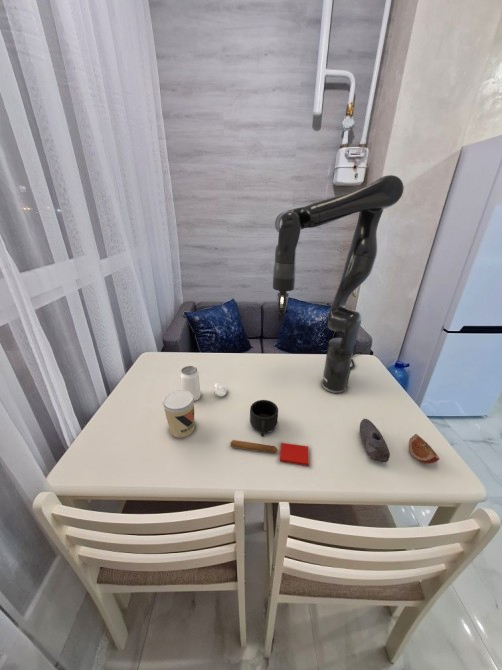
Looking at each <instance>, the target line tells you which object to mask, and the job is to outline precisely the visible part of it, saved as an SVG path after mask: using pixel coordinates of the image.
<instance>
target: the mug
mask: <svg viewBox="0 0 502 670" xmlns="http://www.w3.org/2000/svg"><path fill="white" fill-rule="evenodd" d="M278 420H279V407H278V406H277V404H276V403H275V402H274V401H271V400H268V399H259V400H256V401H254V402H253V403H251V405H250V408H249V423H250V425H251V427H252V429H253V430H255V432H257V433H261V434H260V435H261V437H265V434H266V433H267V434H268V433H271V432H273V431H274V430H275V428H276V427H277V426H278Z"/></svg>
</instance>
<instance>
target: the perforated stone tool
mask: <svg viewBox="0 0 502 670" xmlns="http://www.w3.org/2000/svg"><path fill="white" fill-rule="evenodd" d="M359 435H360V439H361V441H362V444H363V447H364V449H365V452H366V454H367V456H368V457H369V459H370V460H372V461H375V462H379V463H381V464H382V463H385V464H386V463H388V462H389V460H390V456H391V453H390V449H389V447H388V444H387V442H386V440H385V438H384V436H383V435H382V433H381V432H380V430H379V429H378V428H377V426H376V425H375V423H373V422H372V421H371V420H370V419H368V418H363V419H362V420H361V421H360V423H359Z"/></svg>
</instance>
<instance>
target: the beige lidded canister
mask: <svg viewBox="0 0 502 670" xmlns="http://www.w3.org/2000/svg"><path fill="white" fill-rule="evenodd" d="M162 407H163V410H164V413H165V418H166V421H167V425H168V429H169V432H170V434H171V436H173V437H175V438H177V439H178V438H181V439H182V438H185V437H188V436H189V435H191V434H192V433H193V432H194V430H195V401H194V396H193V395H192V394H191V393H190V392H188V391H184V390H182V389H180V390H179V389H178V390H175V391H172V392H170V393H168V394H166V396H165V397H164V399H163V401H162Z"/></svg>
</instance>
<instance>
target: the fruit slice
mask: <svg viewBox="0 0 502 670" xmlns="http://www.w3.org/2000/svg"><path fill="white" fill-rule="evenodd" d="M408 449H409V453H410V454H411V456H412V457H413V458H414V459H415V460H416V461H418V462H420V463H424V464H434V463H437V462H438V461H439V460H440V457H439V455H438V454H437V453H436V452H435V450H434V449H433V448H432V447H431V445H430V444H428V442H427V441H425V439H423V438H422V437H421V436H420V435H418V433H415V434H414V435H412V436H411V437H410V438H409V441H408Z"/></svg>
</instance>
